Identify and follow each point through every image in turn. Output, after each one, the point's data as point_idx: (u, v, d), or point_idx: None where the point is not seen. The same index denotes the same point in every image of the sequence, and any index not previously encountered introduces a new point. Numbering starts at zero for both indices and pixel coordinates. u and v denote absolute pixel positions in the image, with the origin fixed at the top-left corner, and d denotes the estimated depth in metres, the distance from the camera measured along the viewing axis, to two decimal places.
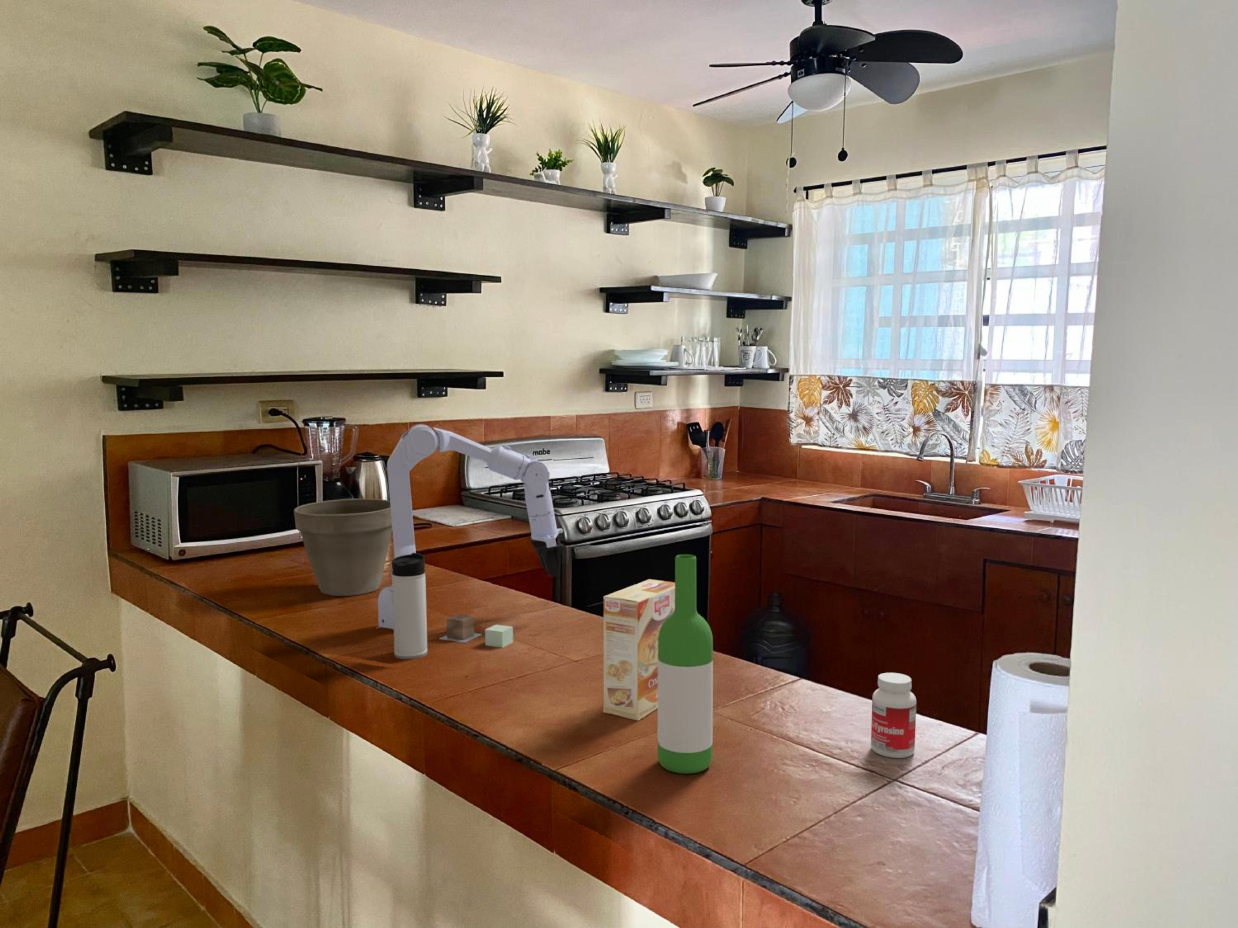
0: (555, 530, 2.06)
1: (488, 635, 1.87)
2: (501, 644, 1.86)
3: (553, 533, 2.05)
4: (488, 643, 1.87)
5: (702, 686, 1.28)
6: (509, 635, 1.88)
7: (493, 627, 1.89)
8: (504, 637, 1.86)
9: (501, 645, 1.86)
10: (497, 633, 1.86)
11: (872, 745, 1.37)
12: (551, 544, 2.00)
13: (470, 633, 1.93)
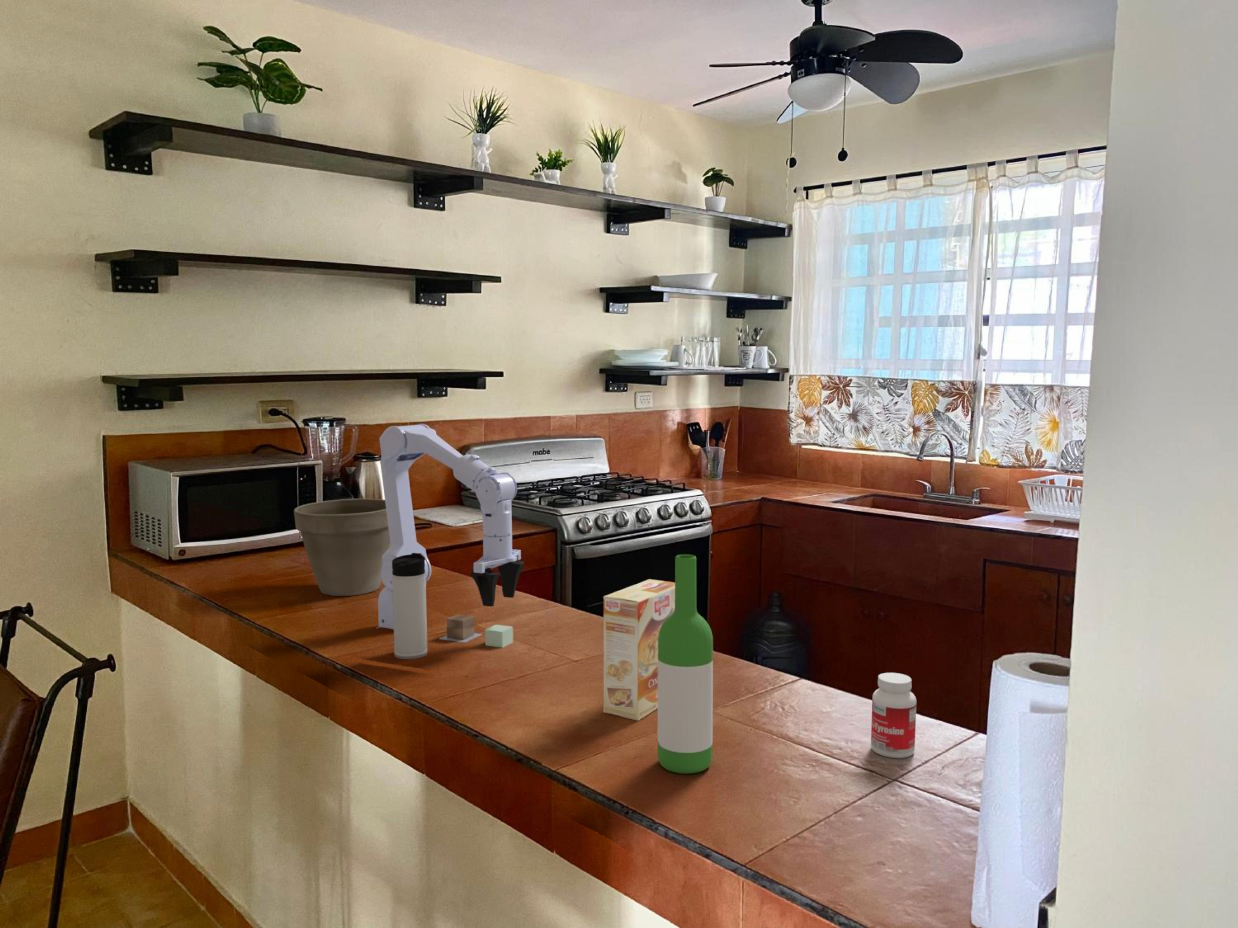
0: (502, 557, 1.84)
1: (488, 635, 1.87)
2: (501, 644, 1.86)
3: (497, 559, 1.84)
4: (488, 643, 1.87)
5: (702, 686, 1.28)
6: (509, 635, 1.88)
7: (493, 627, 1.89)
8: (504, 637, 1.86)
9: (501, 645, 1.86)
10: (497, 633, 1.86)
11: (872, 745, 1.37)
12: (477, 570, 1.80)
13: (470, 633, 1.93)
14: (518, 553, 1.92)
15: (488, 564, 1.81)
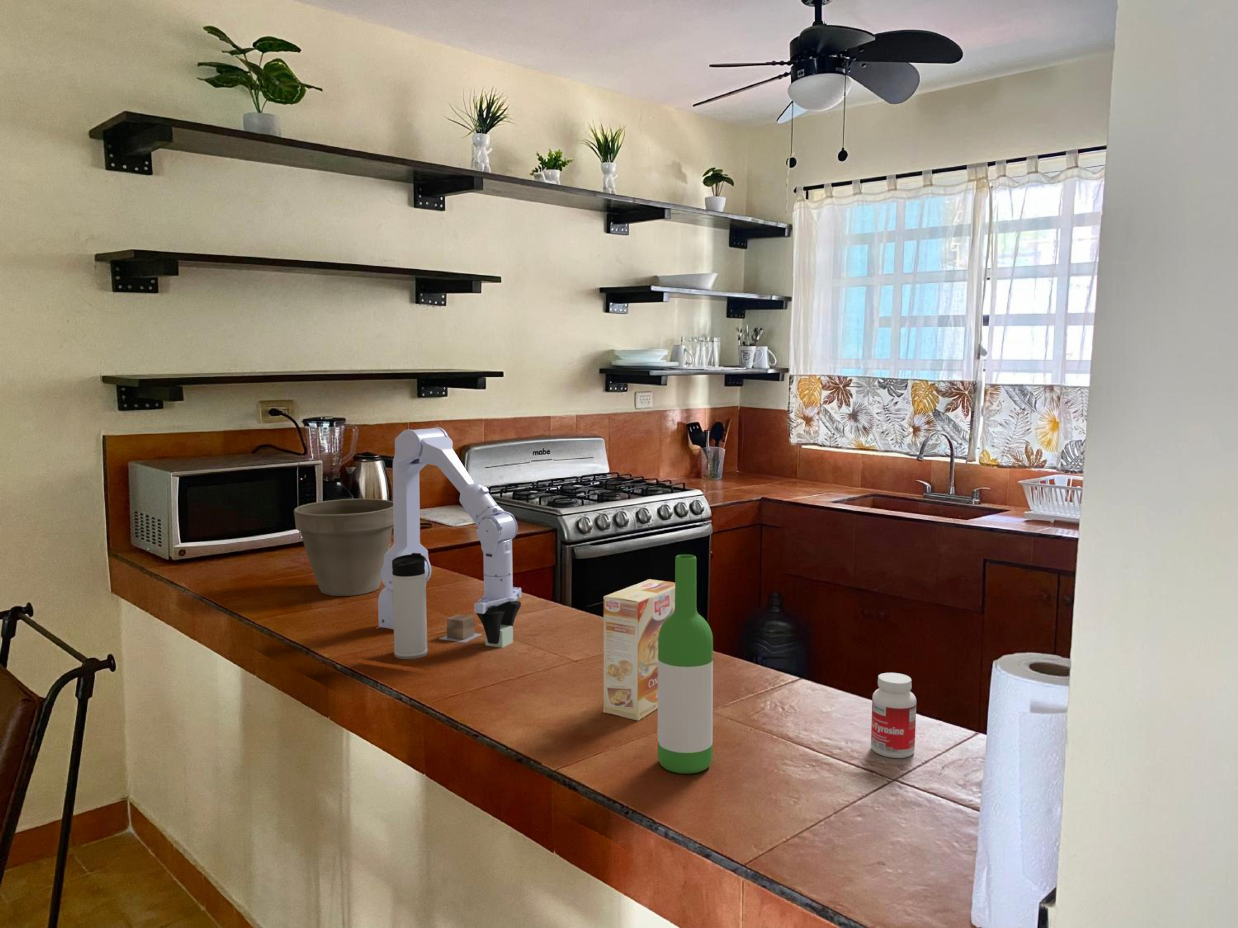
0: (503, 596, 1.85)
1: None
2: (501, 644, 1.86)
3: (498, 599, 1.84)
4: None
5: (702, 686, 1.28)
6: (509, 634, 1.88)
7: None
8: (504, 637, 1.86)
9: (501, 644, 1.86)
10: None
11: (872, 745, 1.37)
12: (478, 610, 1.81)
13: (470, 633, 1.93)
14: (519, 591, 1.92)
15: (489, 604, 1.82)
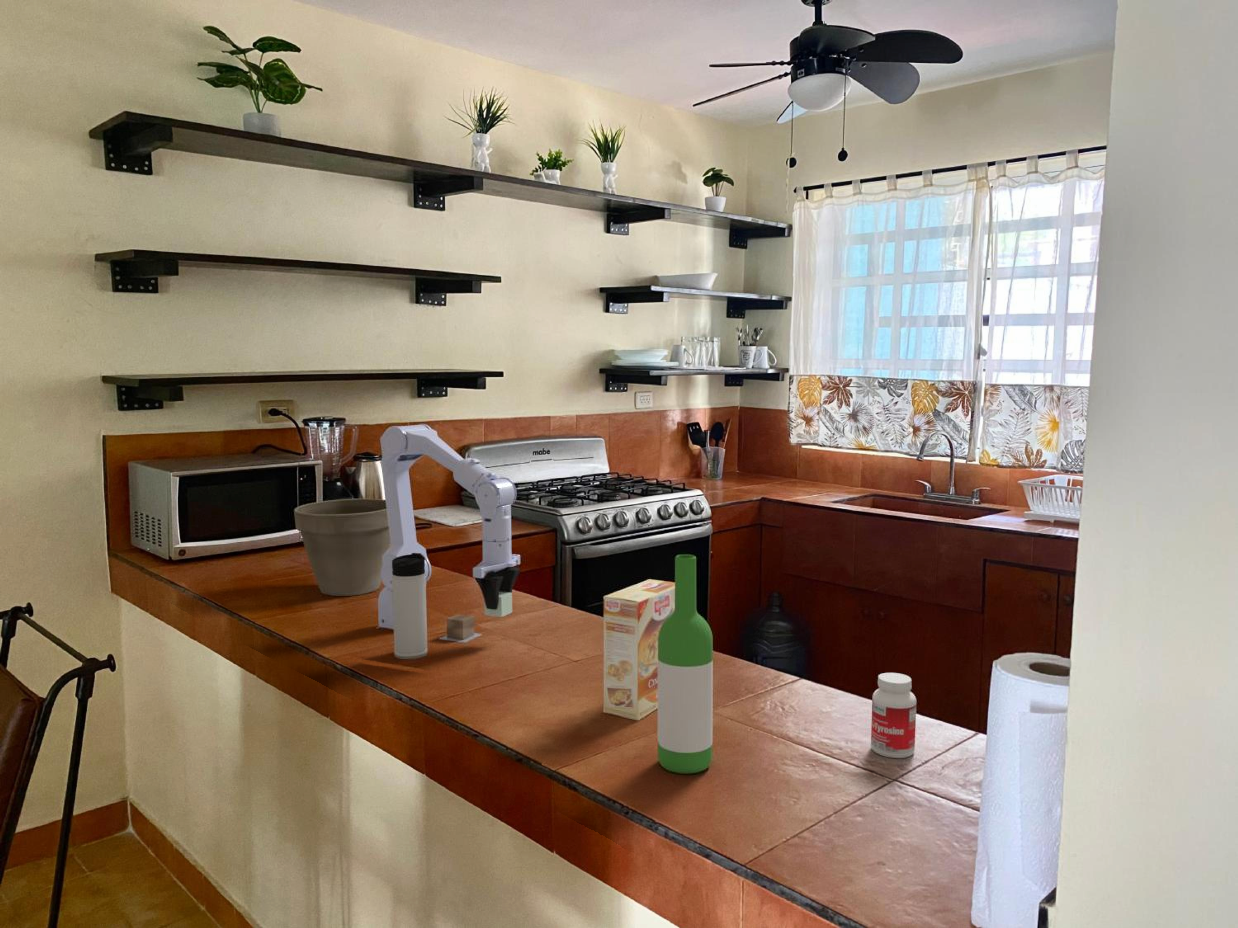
0: (502, 562, 1.84)
1: None
2: (500, 610, 1.85)
3: (496, 564, 1.84)
4: (487, 609, 1.86)
5: (702, 686, 1.28)
6: (508, 601, 1.87)
7: None
8: (504, 603, 1.86)
9: (500, 611, 1.85)
10: None
11: (872, 745, 1.37)
12: (477, 575, 1.80)
13: (470, 633, 1.93)
14: (517, 558, 1.92)
15: (487, 569, 1.81)
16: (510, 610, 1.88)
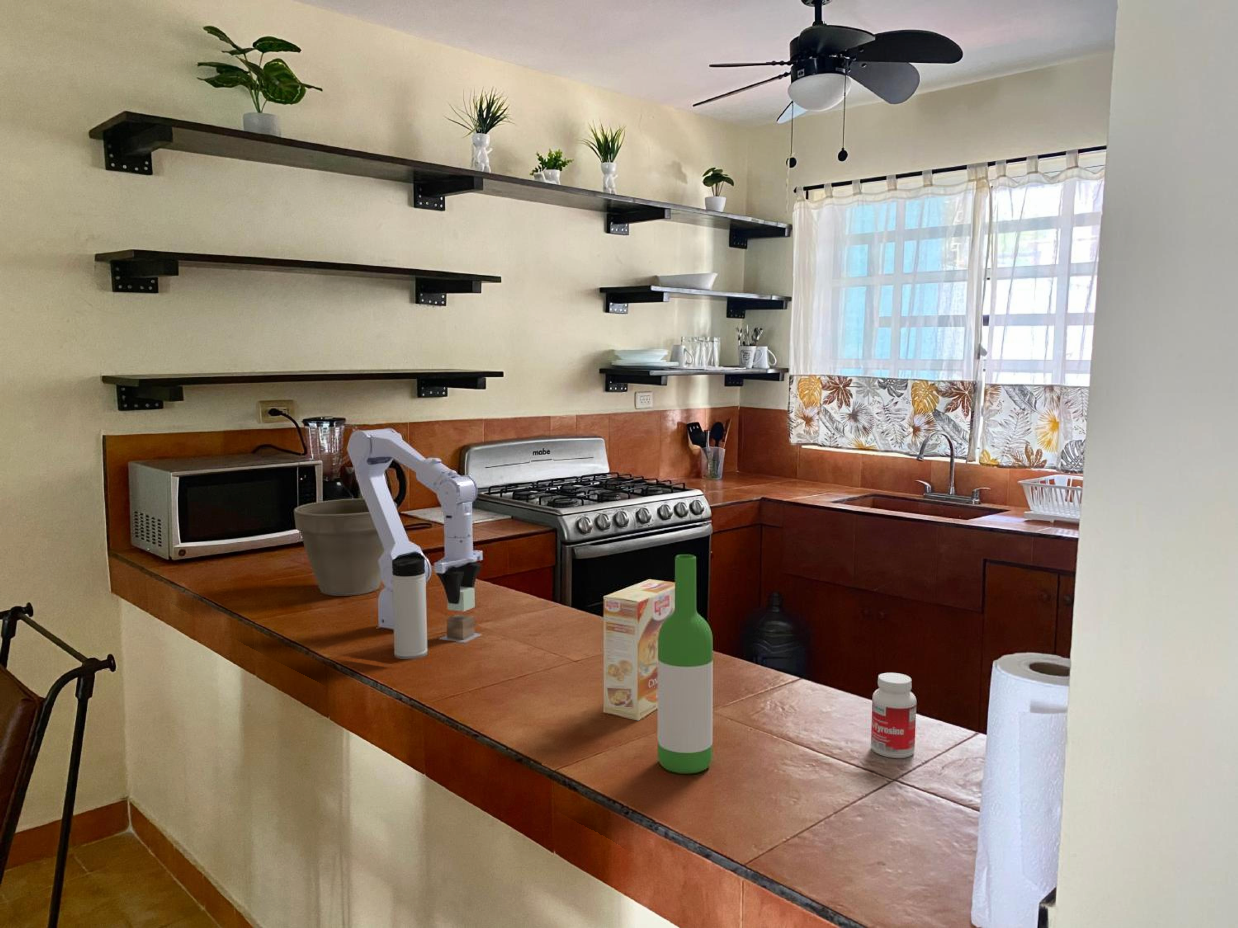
0: (463, 557, 1.89)
1: None
2: (462, 604, 1.90)
3: (458, 560, 1.89)
4: (450, 603, 1.91)
5: (702, 686, 1.28)
6: (470, 596, 1.92)
7: None
8: (466, 598, 1.91)
9: (462, 605, 1.90)
10: None
11: (872, 745, 1.37)
12: (437, 570, 1.85)
13: (470, 633, 1.93)
14: (480, 554, 1.97)
15: (448, 564, 1.86)
16: (472, 605, 1.93)
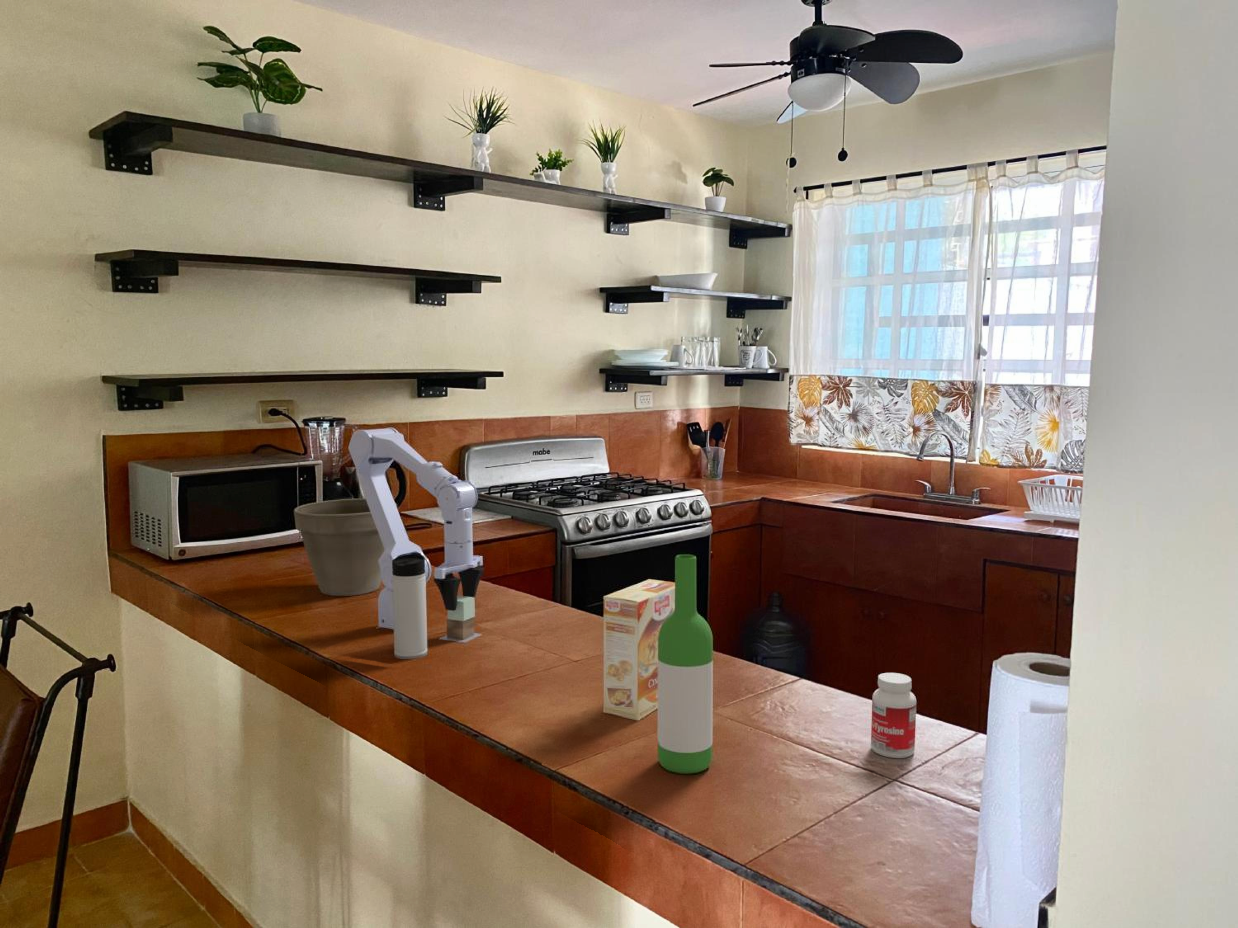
0: (463, 563, 1.89)
1: None
2: (462, 614, 1.90)
3: (458, 565, 1.89)
4: (450, 613, 1.91)
5: (702, 686, 1.28)
6: (471, 605, 1.92)
7: None
8: (466, 607, 1.91)
9: (462, 615, 1.90)
10: (458, 603, 1.90)
11: (872, 745, 1.37)
12: (438, 575, 1.85)
13: (470, 633, 1.93)
14: (480, 559, 1.97)
15: (448, 570, 1.86)
16: (473, 614, 1.93)
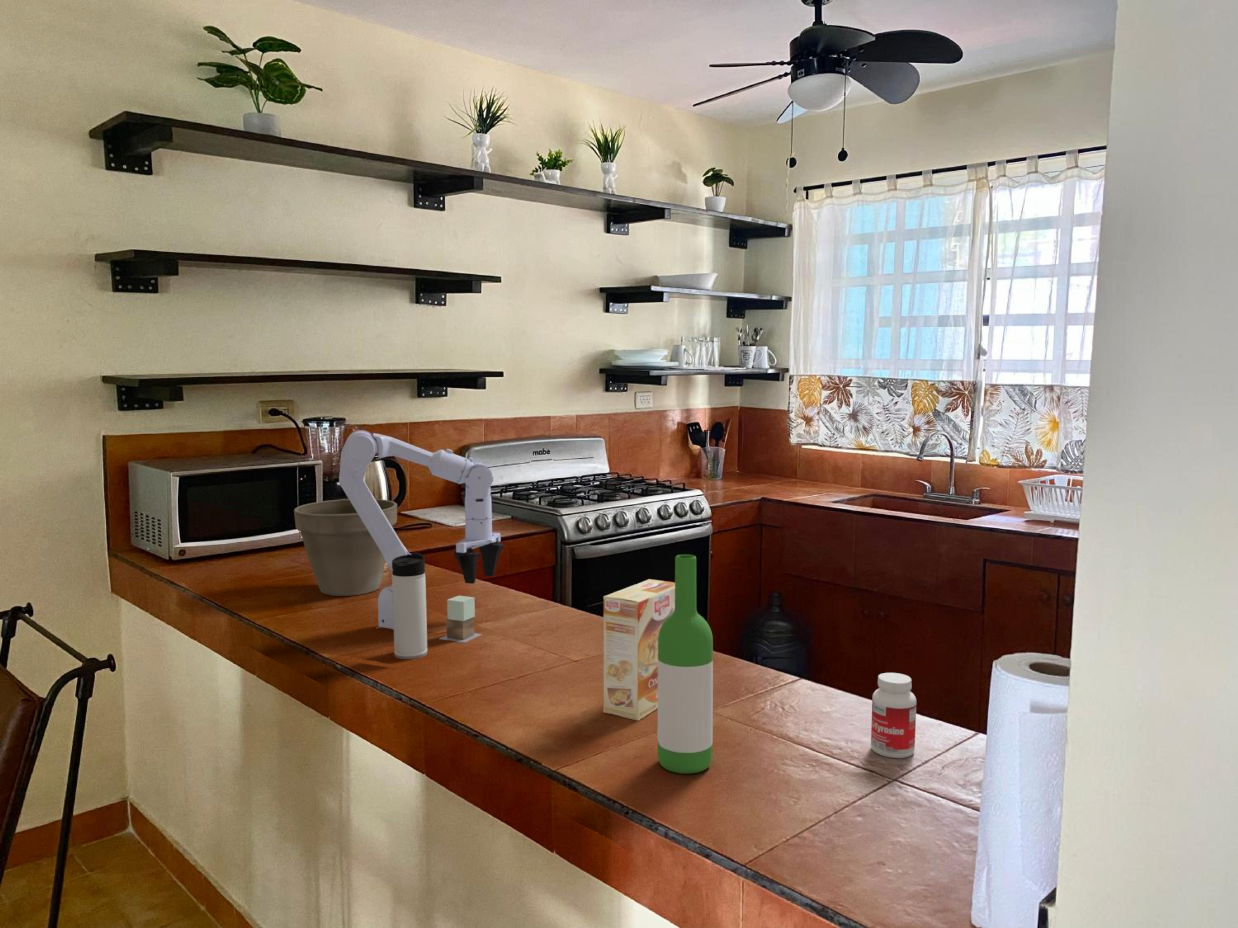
0: (483, 538, 2.01)
1: (450, 605, 1.91)
2: (462, 614, 1.90)
3: (478, 540, 2.01)
4: (450, 613, 1.91)
5: (702, 686, 1.28)
6: (471, 605, 1.92)
7: (455, 598, 1.93)
8: (466, 607, 1.91)
9: (462, 615, 1.90)
10: (458, 603, 1.90)
11: (872, 745, 1.37)
12: (459, 550, 1.97)
13: (470, 633, 1.93)
14: (498, 535, 2.09)
15: (469, 545, 1.98)
16: (473, 614, 1.93)
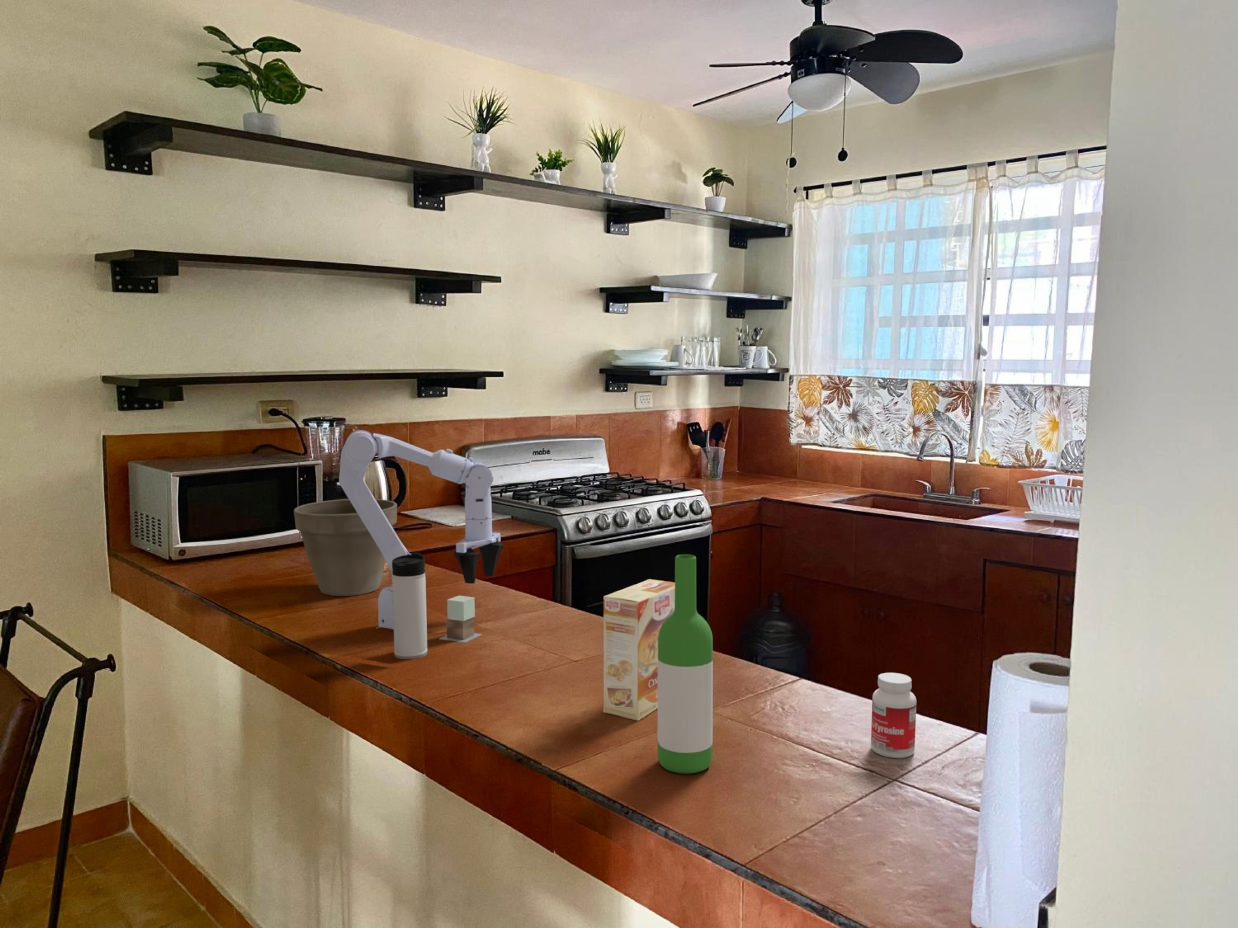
0: (483, 538, 2.01)
1: (450, 605, 1.91)
2: (462, 614, 1.90)
3: (478, 540, 2.01)
4: (450, 613, 1.91)
5: (702, 686, 1.28)
6: (471, 605, 1.92)
7: (455, 598, 1.93)
8: (466, 607, 1.91)
9: (462, 615, 1.90)
10: (458, 603, 1.90)
11: (872, 745, 1.37)
12: (459, 550, 1.97)
13: (470, 633, 1.93)
14: (498, 535, 2.09)
15: (469, 545, 1.98)
16: (473, 614, 1.93)
